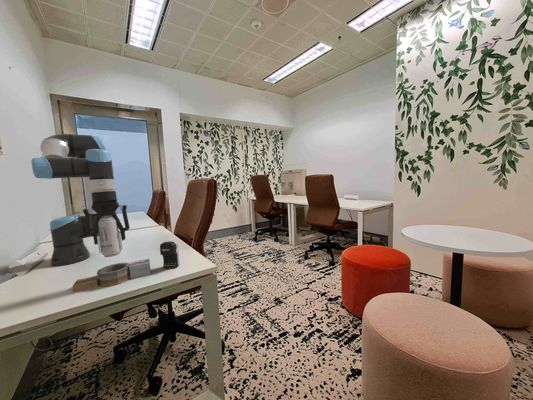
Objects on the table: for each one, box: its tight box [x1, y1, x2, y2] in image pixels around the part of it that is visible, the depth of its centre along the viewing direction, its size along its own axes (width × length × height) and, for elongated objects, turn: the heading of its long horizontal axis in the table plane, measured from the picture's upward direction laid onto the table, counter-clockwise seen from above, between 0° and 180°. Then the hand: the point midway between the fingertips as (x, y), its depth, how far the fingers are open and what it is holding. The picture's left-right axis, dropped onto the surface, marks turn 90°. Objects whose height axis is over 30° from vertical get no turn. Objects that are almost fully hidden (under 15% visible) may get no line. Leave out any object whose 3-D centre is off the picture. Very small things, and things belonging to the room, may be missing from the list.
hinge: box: [72, 258, 152, 294], centre depth 85 cm, size 10×24×5 cm, turn 119°
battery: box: [159, 240, 180, 269], centre depth 94 cm, size 7×4×11 cm, turn 81°
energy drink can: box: [98, 216, 122, 258], centre depth 84 cm, size 6×6×15 cm
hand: (111, 250), depth 84 cm, fingers closed on energy drink can, 6 cm apart
